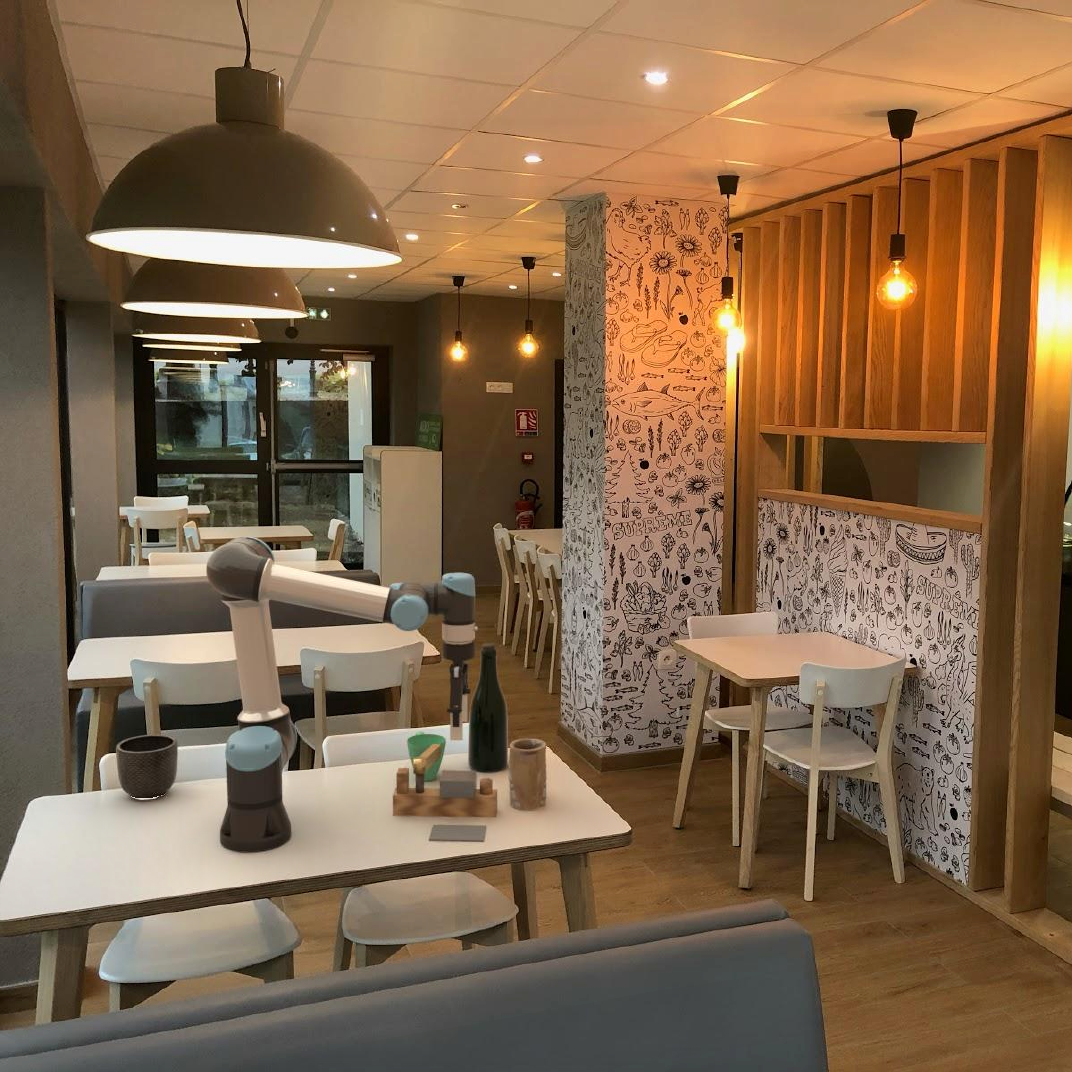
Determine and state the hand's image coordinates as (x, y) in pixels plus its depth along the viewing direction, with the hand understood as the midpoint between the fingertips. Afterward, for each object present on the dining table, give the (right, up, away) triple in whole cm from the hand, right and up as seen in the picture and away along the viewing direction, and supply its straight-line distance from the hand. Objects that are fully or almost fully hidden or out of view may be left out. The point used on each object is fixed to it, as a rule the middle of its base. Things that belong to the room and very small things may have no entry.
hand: (459, 730), depth 240 cm
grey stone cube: (0, -15, +2) cm, 15 cm away
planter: (-76, -18, +11) cm, 79 cm away
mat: (0, -21, -9) cm, 23 cm away
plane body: (-3, -20, +2) cm, 20 cm away
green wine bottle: (+5, -16, +34) cm, 38 cm away
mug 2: (+15, -19, +10) cm, 26 cm away
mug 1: (-11, -17, +27) cm, 34 cm away
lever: (-8, -9, +6) cm, 14 cm away
